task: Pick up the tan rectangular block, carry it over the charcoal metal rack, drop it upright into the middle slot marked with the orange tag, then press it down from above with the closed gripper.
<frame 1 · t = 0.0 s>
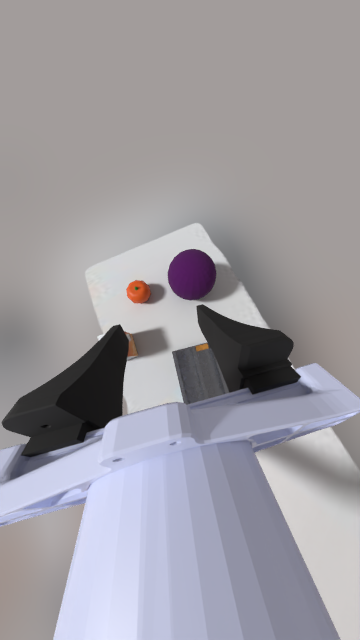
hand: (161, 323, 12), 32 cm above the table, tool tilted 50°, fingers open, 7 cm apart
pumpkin: (141, 296, 48), on the table
small box: (127, 347, 44), on the table
rack: (207, 368, 42), on the table
toy ball: (189, 287, 48), on the table
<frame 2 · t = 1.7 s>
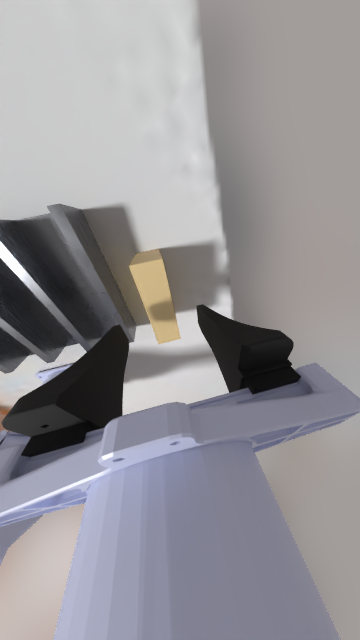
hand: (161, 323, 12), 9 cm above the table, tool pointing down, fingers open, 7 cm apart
tan rectangular block: (157, 286, 20), on the table
rack: (47, 298, 18), on the table
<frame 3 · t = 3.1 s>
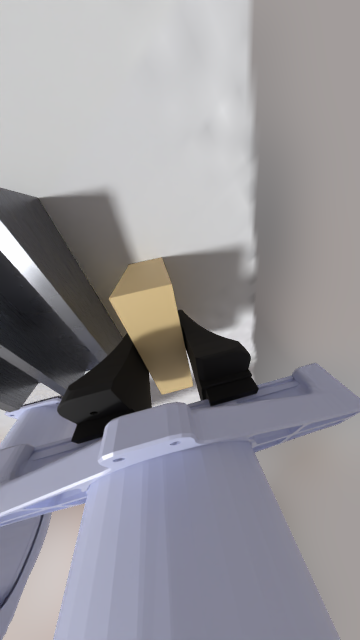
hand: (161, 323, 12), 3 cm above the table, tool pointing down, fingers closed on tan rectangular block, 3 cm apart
tan rectangular block: (159, 307, 15), on the table, touching gripper
rack: (4, 326, 13), on the table
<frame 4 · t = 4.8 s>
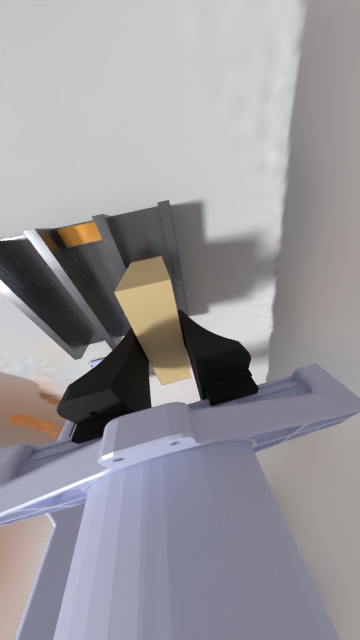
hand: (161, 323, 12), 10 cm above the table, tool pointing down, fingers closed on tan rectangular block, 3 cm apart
tan rectangular block: (159, 304, 15), point 6 cm above the table, touching gripper
rack: (116, 289, 19), on the table
when the fingers open (5 cm above the table, at t = 6.4 s): tan rectangular block stays where it is, resting on rack.
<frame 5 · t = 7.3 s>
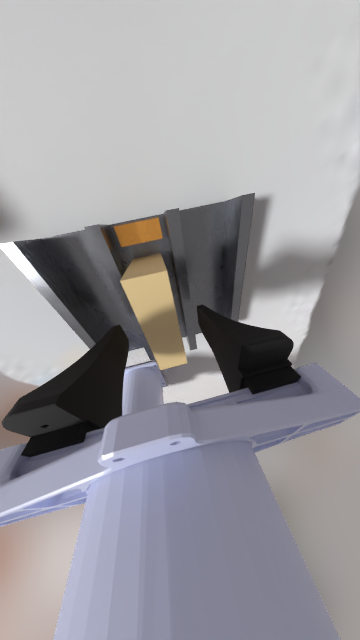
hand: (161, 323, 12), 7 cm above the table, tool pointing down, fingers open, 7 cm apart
tan rectangular block: (158, 297, 17), point 1 cm above the table, touching rack
rack: (158, 294, 17), on the table
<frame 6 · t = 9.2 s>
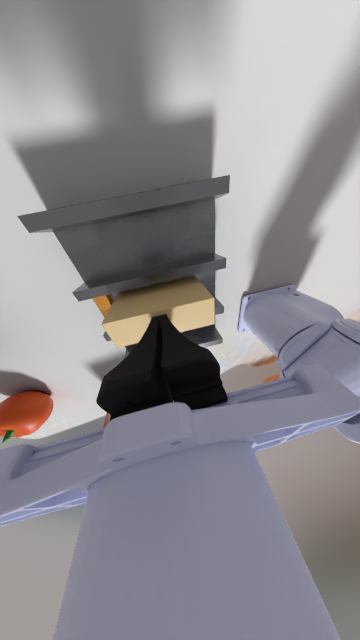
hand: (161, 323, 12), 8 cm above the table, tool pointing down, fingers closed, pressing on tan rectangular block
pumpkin: (37, 394, 27), on the table
tan rectangular block: (159, 293, 18), point 1 cm above the table, touching gripper, rack
rack: (158, 291, 19), on the table
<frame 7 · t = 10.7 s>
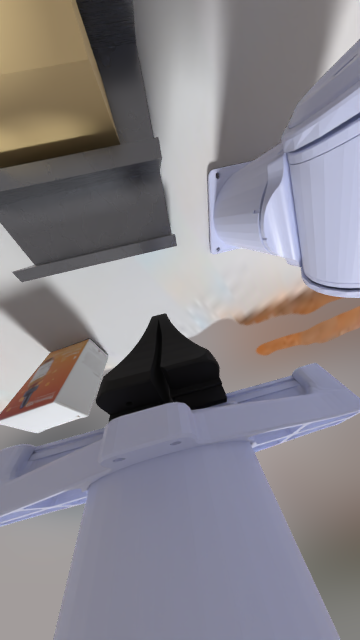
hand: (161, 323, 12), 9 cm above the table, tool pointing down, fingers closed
small box: (81, 353, 25), on the table
tan rectangular block: (47, 126, 10), point 1 cm above the table, touching rack
rack: (54, 134, 11), on the table
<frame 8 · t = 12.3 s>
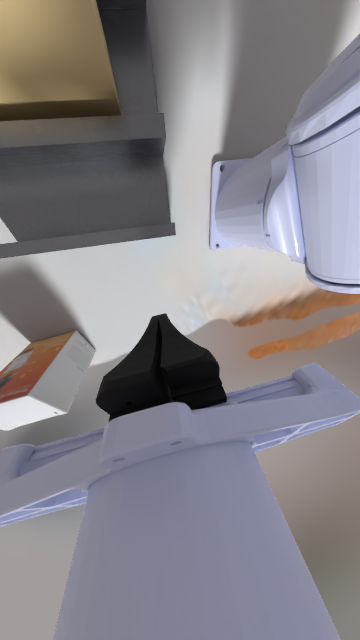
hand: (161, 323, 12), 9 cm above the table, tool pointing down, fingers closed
small box: (66, 345, 23), on the table
tan rectangular block: (42, 87, 9), point 1 cm above the table, touching rack
rack: (49, 98, 10), on the table
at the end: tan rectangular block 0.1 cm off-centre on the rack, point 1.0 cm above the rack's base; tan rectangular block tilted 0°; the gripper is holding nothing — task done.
